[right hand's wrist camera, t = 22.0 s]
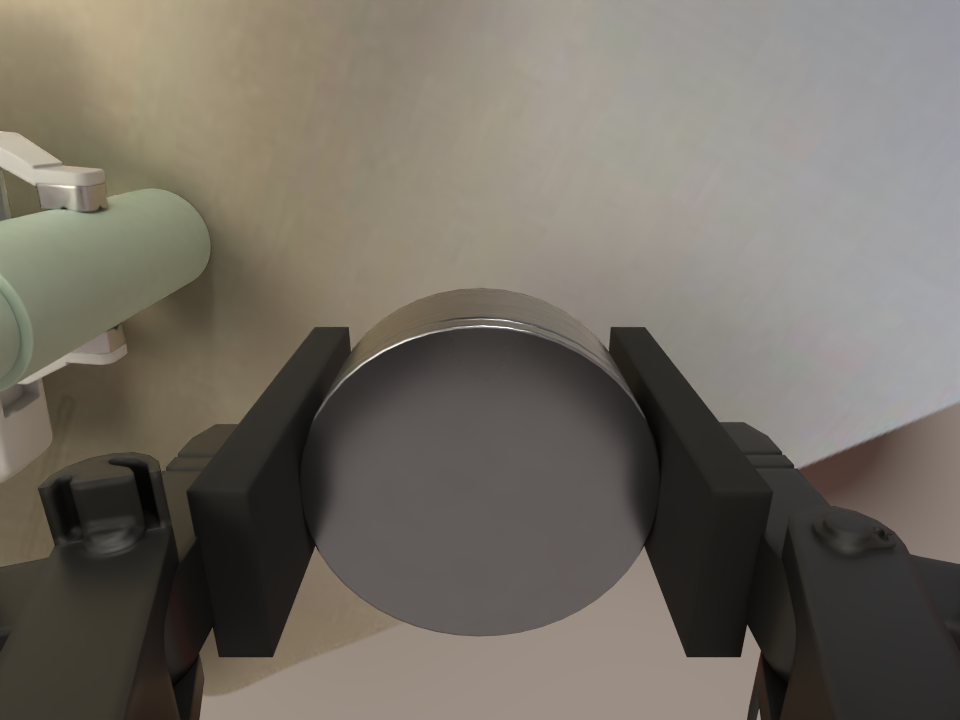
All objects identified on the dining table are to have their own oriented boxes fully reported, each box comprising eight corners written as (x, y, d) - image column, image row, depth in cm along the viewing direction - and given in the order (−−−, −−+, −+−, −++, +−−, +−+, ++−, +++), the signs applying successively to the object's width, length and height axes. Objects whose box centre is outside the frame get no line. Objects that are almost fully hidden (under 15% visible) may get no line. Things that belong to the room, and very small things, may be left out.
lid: (279, 479, 13) (240, 550, 10) (419, 224, 11) (404, 250, 9) (527, 597, 14) (536, 682, 12) (693, 384, 12) (737, 440, 10)
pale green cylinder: (231, 255, 32) (24, 372, 17) (158, 304, 33) (-96, 454, 18) (164, 168, 30) (-123, 218, 16) (89, 222, 31) (-246, 316, 17)
